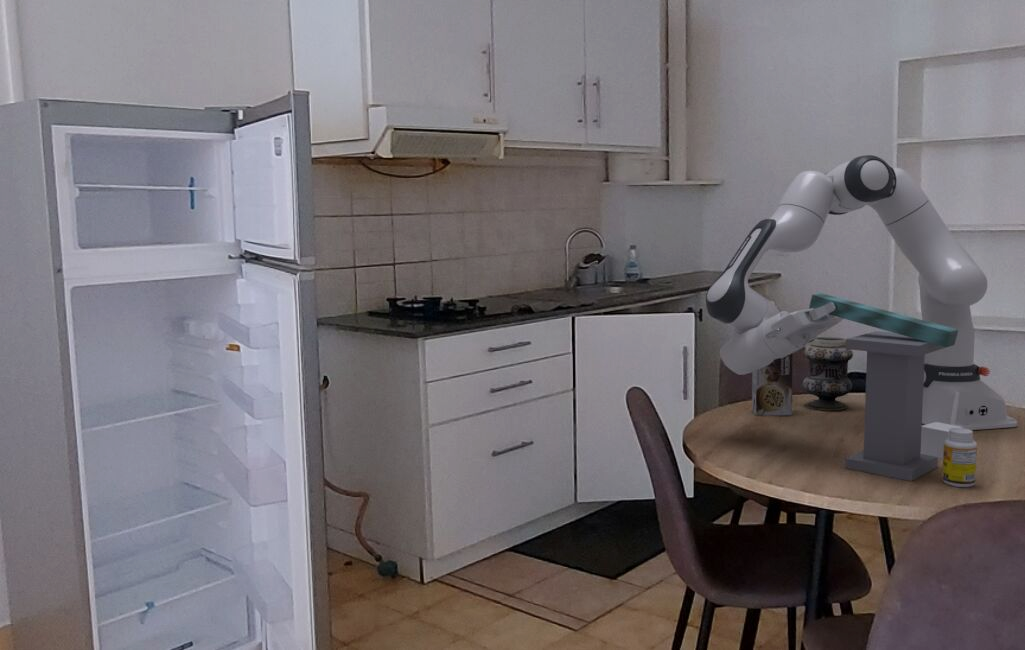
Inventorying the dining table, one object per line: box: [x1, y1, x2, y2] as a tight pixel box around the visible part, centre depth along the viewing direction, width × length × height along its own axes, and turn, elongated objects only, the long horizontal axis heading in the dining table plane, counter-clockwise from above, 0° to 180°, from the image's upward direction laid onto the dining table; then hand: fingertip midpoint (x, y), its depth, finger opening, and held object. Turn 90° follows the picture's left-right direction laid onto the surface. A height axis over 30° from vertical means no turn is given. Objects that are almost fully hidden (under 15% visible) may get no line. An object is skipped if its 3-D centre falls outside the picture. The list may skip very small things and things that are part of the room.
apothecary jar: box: [802, 335, 854, 412], centre depth 236 cm, size 12×12×18 cm
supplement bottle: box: [942, 428, 978, 488], centre depth 171 cm, size 6×6×10 cm
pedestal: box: [844, 330, 946, 482], centre depth 181 cm, size 14×14×26 cm
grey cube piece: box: [920, 422, 964, 460], centre depth 191 cm, size 6×6×6 cm
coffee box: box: [751, 352, 794, 417], centre depth 230 cm, size 9×6×16 cm
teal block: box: [808, 292, 958, 347], centre depth 181 cm, size 28×4×3 cm, turn 45°
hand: (841, 304), depth 186 cm, fingers closed on teal block, 4 cm apart
